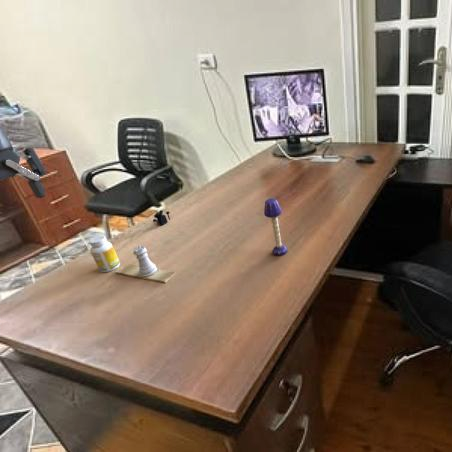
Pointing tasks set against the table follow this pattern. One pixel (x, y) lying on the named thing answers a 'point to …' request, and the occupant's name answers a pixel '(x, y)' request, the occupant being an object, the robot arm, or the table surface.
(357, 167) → the table surface
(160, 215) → the wireless earbuds
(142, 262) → the rook chess piece
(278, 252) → the toy lamp
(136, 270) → the strip
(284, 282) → the table surface
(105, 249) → the supplement bottle
